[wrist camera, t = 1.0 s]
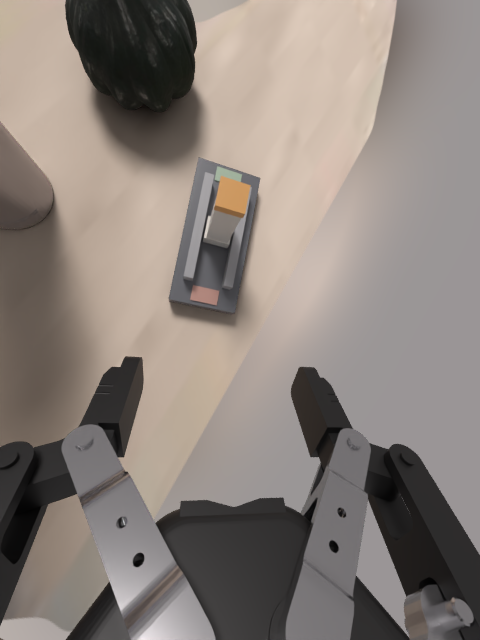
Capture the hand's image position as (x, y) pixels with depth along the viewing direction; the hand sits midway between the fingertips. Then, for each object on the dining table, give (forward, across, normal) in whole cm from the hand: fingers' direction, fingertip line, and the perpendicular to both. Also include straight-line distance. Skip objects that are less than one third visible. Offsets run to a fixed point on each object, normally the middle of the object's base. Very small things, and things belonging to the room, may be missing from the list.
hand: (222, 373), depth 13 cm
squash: (+41, +12, -16) cm, 45 cm away
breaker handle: (+26, 0, 0) cm, 26 cm away
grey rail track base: (+29, 0, +2) cm, 29 cm away
